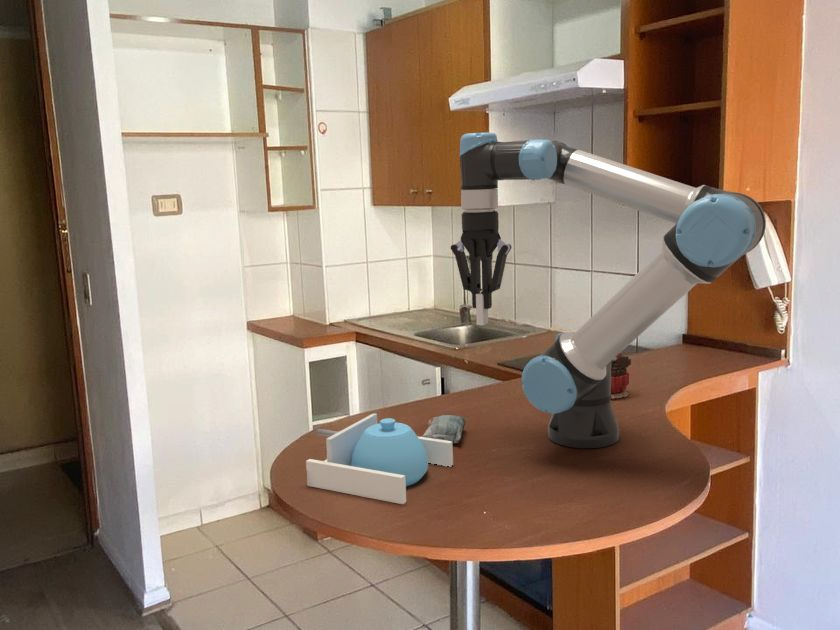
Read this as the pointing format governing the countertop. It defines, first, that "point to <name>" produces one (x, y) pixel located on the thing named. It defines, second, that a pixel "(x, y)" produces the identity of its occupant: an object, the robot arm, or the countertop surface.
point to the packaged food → (445, 428)
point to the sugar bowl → (391, 451)
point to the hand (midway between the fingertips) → (482, 323)
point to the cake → (619, 376)
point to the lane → (373, 475)
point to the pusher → (345, 440)
